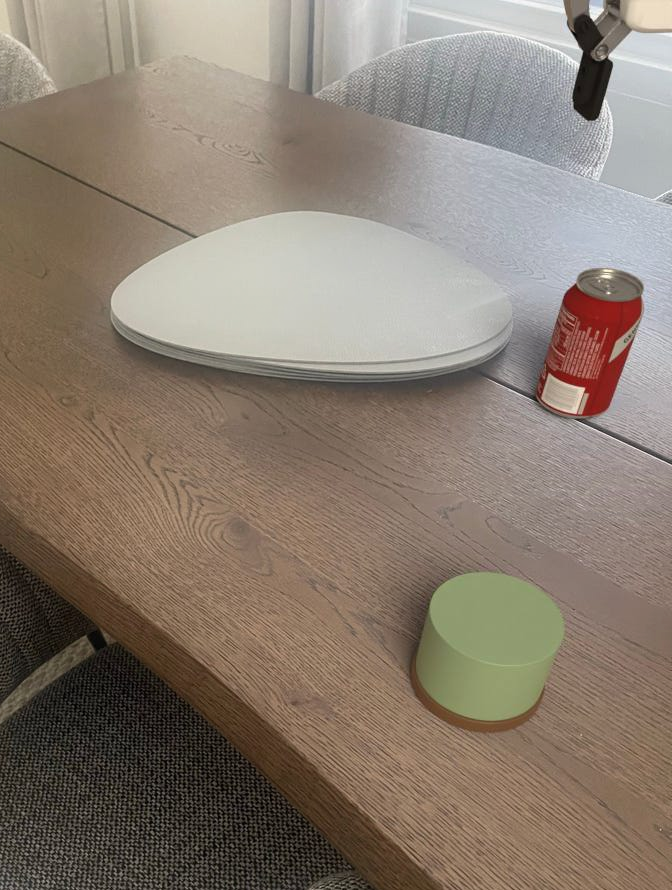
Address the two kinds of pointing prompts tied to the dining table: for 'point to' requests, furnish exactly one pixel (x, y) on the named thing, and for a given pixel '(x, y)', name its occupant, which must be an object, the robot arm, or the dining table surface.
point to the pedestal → (486, 651)
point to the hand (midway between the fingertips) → (645, 111)
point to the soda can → (590, 343)
